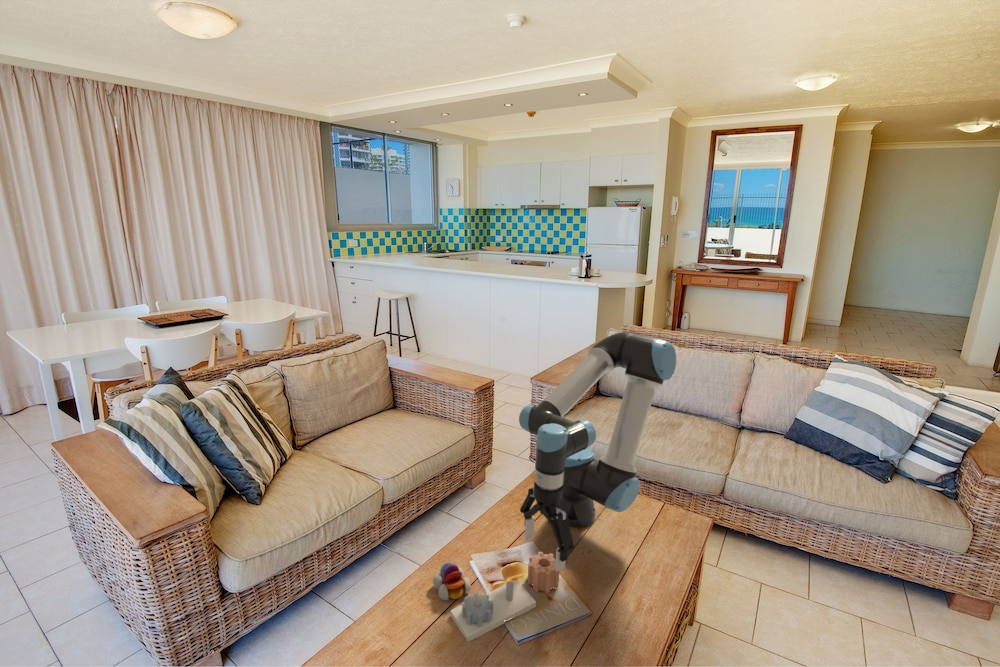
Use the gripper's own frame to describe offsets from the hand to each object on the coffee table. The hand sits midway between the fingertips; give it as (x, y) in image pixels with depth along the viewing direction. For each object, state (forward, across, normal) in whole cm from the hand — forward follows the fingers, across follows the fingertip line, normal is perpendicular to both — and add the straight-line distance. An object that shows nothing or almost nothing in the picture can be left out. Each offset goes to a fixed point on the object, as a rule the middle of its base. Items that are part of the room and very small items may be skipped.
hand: (543, 553), depth 129 cm
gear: (+9, 0, +1) cm, 9 cm away
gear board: (+10, +1, -16) cm, 19 cm away
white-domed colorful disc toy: (+10, -11, -22) cm, 27 cm away
